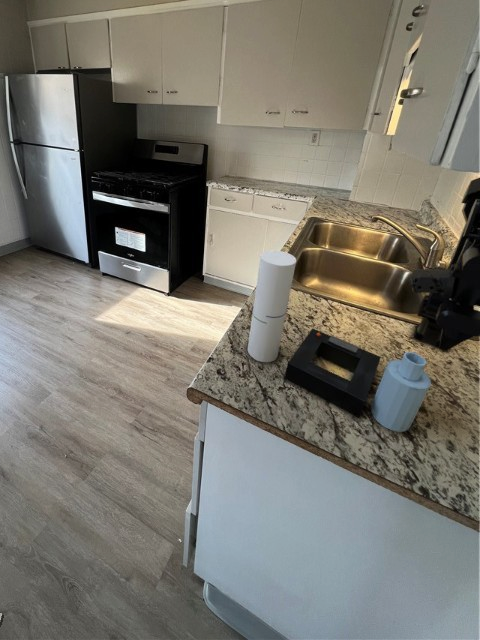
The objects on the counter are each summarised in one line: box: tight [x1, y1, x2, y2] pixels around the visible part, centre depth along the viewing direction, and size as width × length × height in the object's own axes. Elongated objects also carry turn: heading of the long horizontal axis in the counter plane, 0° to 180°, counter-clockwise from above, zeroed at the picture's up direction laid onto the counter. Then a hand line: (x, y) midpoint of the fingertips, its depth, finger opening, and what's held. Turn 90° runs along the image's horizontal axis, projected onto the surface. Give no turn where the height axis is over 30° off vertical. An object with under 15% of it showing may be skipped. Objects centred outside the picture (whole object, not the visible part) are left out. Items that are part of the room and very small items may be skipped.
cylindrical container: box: [247, 250, 297, 363], centre depth 70 cm, size 7×7×25 cm
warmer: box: [284, 327, 381, 419], centre depth 68 cm, size 15×15×5 cm
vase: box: [370, 351, 432, 433], centre depth 57 cm, size 7×7×14 cm
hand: (443, 337), depth 62 cm, fingers open, 9 cm apart
